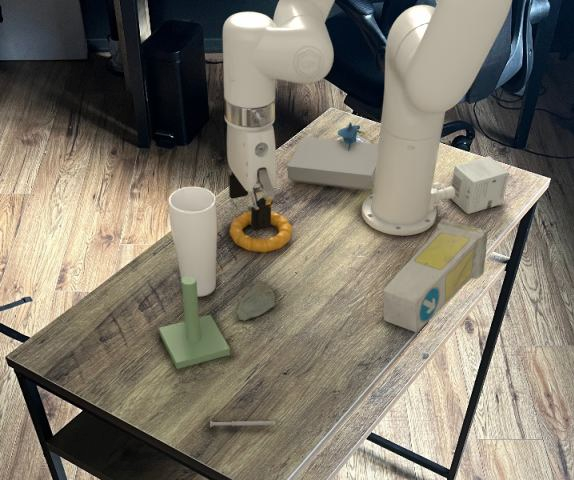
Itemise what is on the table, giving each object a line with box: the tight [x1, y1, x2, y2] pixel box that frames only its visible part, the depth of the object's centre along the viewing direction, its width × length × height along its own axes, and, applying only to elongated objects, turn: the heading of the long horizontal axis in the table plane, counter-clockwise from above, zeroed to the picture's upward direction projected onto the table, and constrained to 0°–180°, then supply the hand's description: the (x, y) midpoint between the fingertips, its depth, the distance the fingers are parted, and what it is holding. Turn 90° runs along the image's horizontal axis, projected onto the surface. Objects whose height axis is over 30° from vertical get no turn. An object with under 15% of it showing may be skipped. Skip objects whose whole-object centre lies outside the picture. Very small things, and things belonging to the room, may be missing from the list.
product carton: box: [450, 155, 510, 215], centre depth 140 cm, size 6×6×7 cm
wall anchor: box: [209, 419, 277, 428], centre depth 108 cm, size 1×9×1 cm, turn 92°
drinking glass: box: [168, 186, 219, 298], centre depth 120 cm, size 7×7×15 cm
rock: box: [236, 280, 276, 322], centre depth 124 cm, size 9×2×5 cm
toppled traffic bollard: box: [382, 218, 488, 334], centre depth 124 cm, size 19×8×8 cm
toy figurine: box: [337, 122, 367, 151], centre depth 145 cm, size 12×4×8 cm, turn 159°
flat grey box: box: [286, 136, 379, 191], centre depth 143 cm, size 10×4×15 cm
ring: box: [229, 210, 293, 253], centre depth 134 cm, size 10×10×2 cm
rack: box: [158, 276, 231, 370], centre depth 114 cm, size 8×8×11 cm
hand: (249, 212), depth 135 cm, fingers open, 9 cm apart
